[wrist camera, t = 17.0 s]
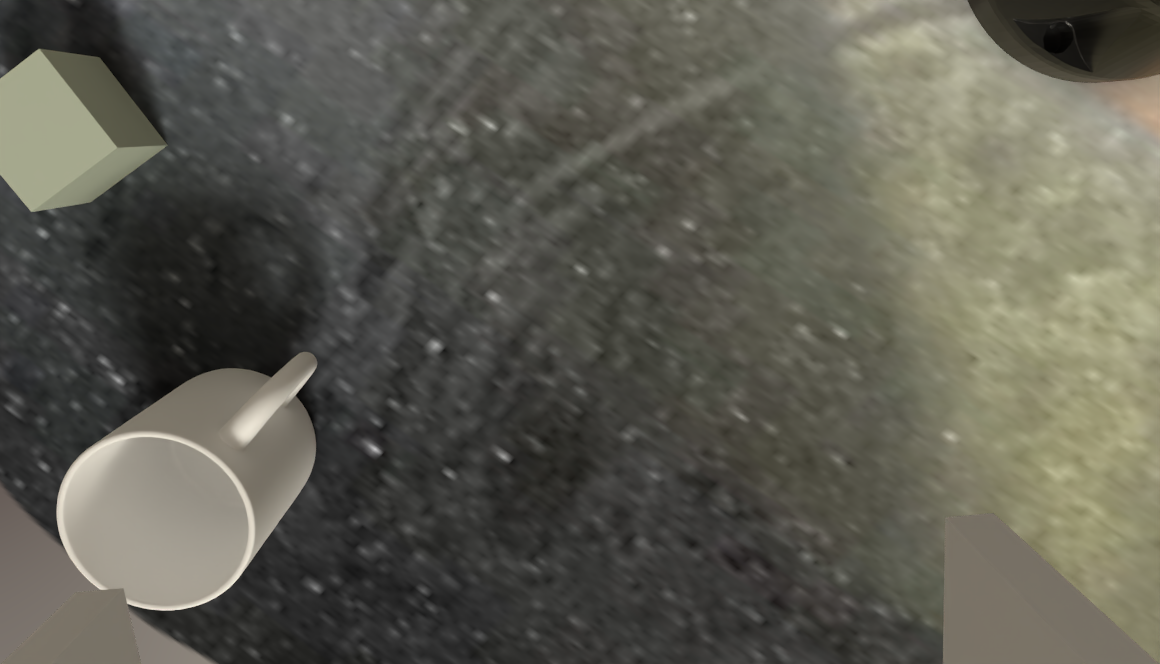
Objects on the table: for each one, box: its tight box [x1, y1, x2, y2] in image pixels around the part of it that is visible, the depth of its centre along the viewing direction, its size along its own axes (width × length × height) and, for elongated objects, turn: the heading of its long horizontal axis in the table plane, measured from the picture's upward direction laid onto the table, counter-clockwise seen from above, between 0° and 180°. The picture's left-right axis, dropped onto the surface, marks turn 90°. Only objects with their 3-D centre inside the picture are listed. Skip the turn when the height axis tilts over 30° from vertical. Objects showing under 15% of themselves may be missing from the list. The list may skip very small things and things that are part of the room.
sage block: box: [0, 49, 167, 212], centre depth 40 cm, size 5×5×5 cm
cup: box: [57, 352, 317, 610], centre depth 41 cm, size 8×12×10 cm
